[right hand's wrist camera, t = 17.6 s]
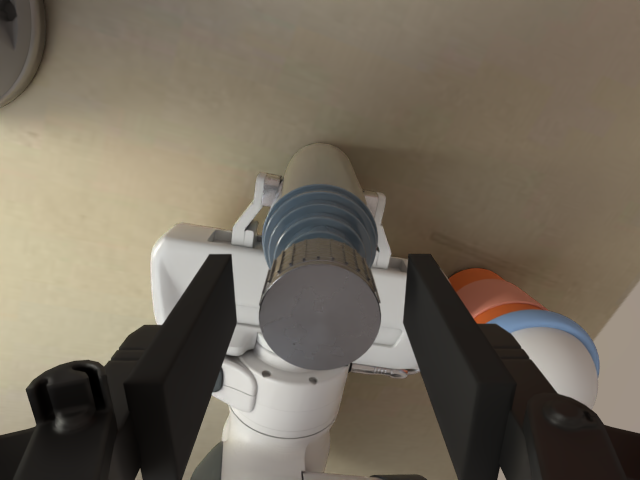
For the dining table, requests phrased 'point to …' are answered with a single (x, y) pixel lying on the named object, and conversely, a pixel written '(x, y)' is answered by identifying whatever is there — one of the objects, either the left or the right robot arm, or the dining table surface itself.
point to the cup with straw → (534, 332)
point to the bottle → (319, 205)
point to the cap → (319, 305)
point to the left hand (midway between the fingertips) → (321, 184)
